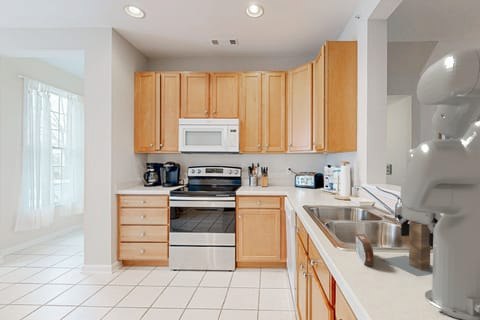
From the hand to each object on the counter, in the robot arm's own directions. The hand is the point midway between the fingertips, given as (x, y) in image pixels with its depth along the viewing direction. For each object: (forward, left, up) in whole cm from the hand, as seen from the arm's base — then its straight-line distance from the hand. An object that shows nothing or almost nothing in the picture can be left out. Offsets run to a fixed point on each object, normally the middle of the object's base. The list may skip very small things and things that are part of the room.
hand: (418, 240), depth 88 cm
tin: (+10, +12, -9) cm, 18 cm away
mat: (+1, +1, -9) cm, 9 cm away
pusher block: (-1, 0, -8) cm, 8 cm away
